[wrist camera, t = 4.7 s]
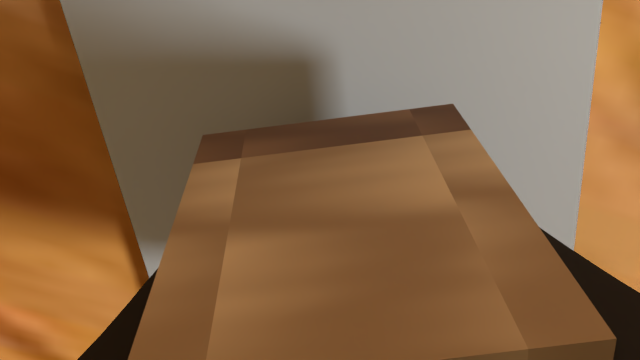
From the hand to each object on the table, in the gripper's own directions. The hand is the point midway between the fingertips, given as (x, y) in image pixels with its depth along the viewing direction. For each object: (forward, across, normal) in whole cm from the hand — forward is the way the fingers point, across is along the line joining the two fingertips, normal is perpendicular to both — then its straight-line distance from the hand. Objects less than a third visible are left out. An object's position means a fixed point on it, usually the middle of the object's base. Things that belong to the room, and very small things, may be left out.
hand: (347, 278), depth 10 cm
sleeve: (+2, 0, 0) cm, 2 cm away
